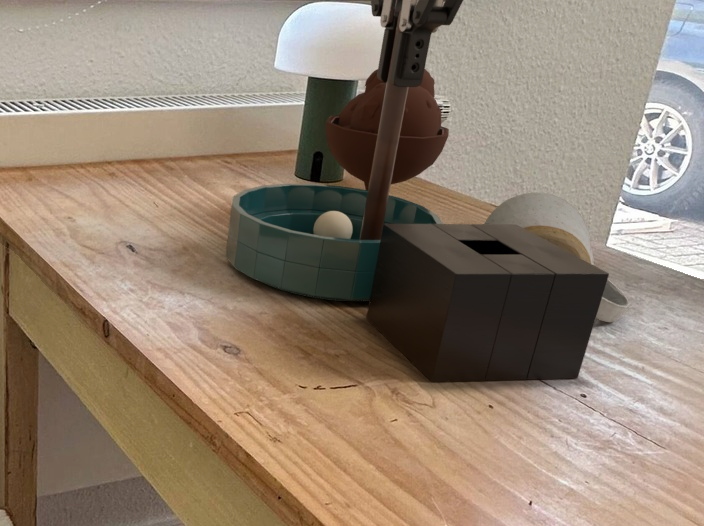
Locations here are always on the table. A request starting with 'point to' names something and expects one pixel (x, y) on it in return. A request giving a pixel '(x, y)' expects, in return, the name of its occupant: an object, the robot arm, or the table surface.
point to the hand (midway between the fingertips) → (398, 82)
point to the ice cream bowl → (363, 124)
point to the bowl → (310, 239)
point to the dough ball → (333, 225)
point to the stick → (384, 155)
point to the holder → (484, 301)
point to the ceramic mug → (559, 236)
